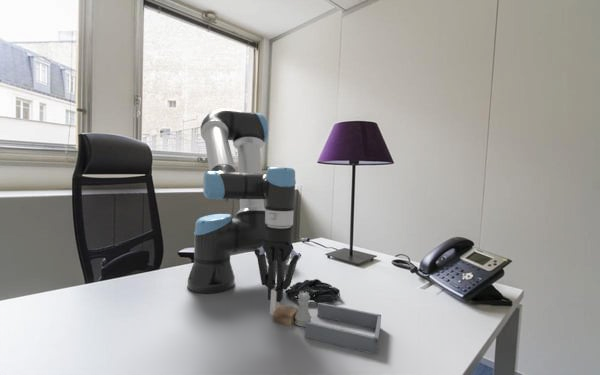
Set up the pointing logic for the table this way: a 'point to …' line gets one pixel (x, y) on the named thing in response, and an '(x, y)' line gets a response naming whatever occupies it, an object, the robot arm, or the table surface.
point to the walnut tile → (285, 314)
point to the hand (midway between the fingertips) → (274, 312)
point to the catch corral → (344, 336)
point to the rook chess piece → (303, 310)
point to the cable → (318, 295)
